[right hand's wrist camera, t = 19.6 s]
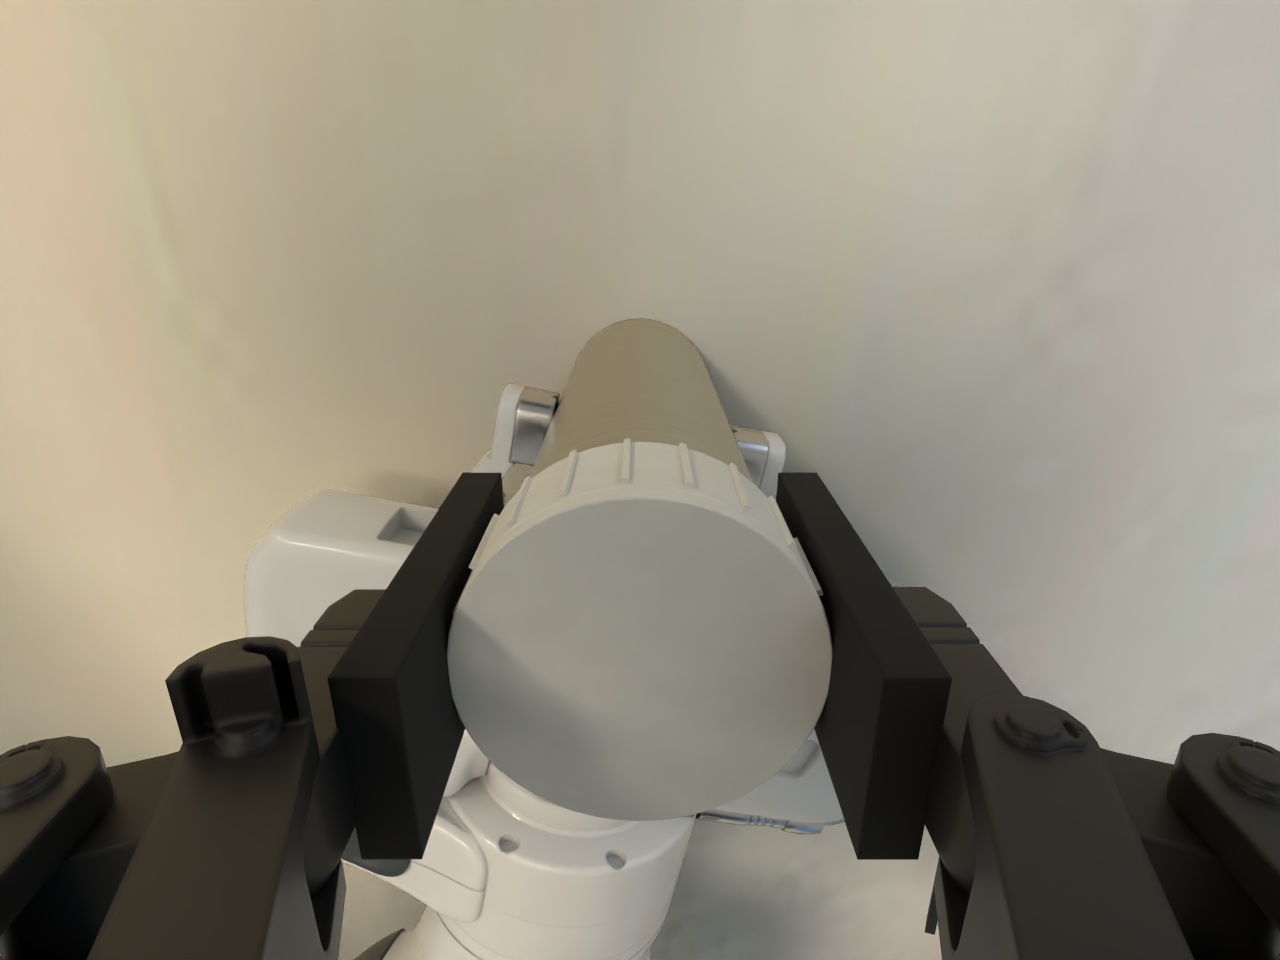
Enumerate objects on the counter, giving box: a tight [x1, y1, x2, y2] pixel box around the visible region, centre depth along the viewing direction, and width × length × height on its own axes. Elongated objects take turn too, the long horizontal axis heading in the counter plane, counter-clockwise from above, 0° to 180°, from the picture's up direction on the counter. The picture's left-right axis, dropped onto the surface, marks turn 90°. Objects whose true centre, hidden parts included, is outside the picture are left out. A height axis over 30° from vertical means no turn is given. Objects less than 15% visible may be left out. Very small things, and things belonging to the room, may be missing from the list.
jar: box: [529, 319, 754, 484], centre depth 18 cm, size 5×5×16 cm
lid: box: [447, 438, 833, 821], centre depth 11 cm, size 6×6×2 cm
